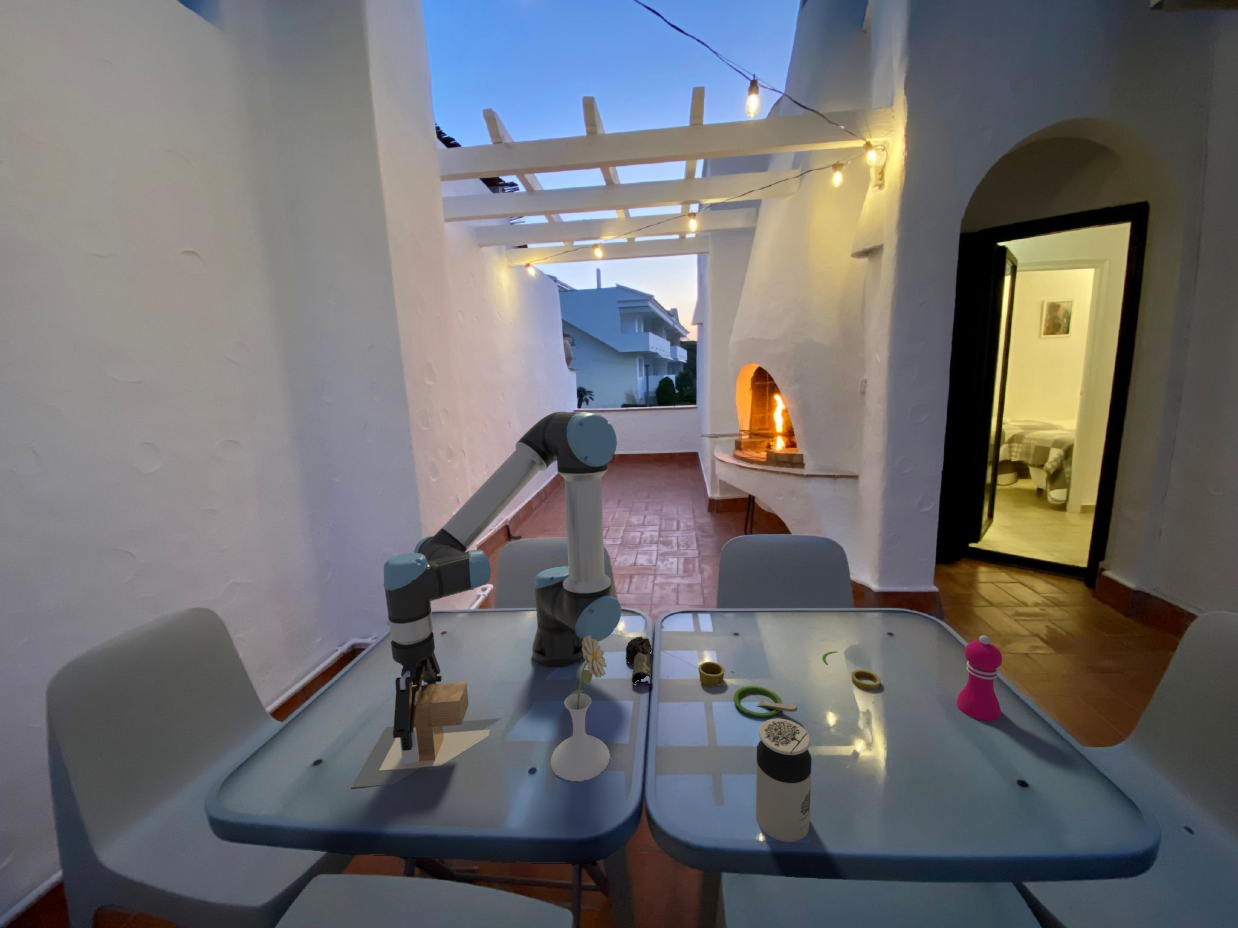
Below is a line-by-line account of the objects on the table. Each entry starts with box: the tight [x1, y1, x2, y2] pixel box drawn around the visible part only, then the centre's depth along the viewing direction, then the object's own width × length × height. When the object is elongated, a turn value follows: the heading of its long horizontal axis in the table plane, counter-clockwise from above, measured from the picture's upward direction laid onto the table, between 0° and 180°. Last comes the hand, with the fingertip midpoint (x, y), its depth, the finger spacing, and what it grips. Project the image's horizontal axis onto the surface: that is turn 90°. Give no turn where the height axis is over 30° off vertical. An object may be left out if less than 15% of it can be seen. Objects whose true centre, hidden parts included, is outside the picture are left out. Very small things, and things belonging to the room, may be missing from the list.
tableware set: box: [697, 650, 882, 719], centre depth 113 cm, size 41×28×6 cm
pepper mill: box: [956, 634, 1003, 722], centre depth 99 cm, size 7×7×20 cm
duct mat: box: [350, 717, 502, 789], centre depth 98 cm, size 26×16×1 cm, turn 94°
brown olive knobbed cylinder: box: [625, 636, 653, 685], centre depth 124 cm, size 18×7×6 cm, turn 176°
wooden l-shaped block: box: [412, 681, 469, 761], centre depth 97 cm, size 6×12×12 cm, turn 94°
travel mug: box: [755, 718, 813, 843], centre depth 76 cm, size 8×8×18 cm
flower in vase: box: [550, 635, 611, 782], centre depth 92 cm, size 13×11×25 cm
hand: (422, 735), depth 97 cm, fingers open, 13 cm apart
